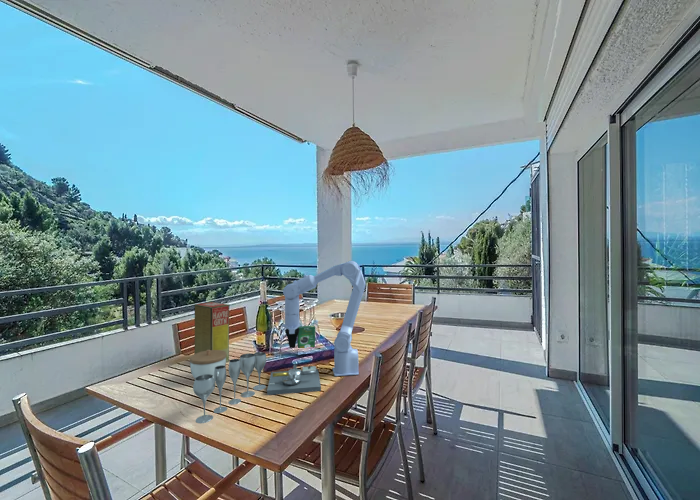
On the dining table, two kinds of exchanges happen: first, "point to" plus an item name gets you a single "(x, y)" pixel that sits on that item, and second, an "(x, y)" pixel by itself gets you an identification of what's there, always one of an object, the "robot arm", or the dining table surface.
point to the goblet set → (245, 364)
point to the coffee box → (306, 336)
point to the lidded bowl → (206, 362)
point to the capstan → (293, 375)
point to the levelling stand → (306, 384)
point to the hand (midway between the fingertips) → (292, 347)
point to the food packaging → (212, 327)
